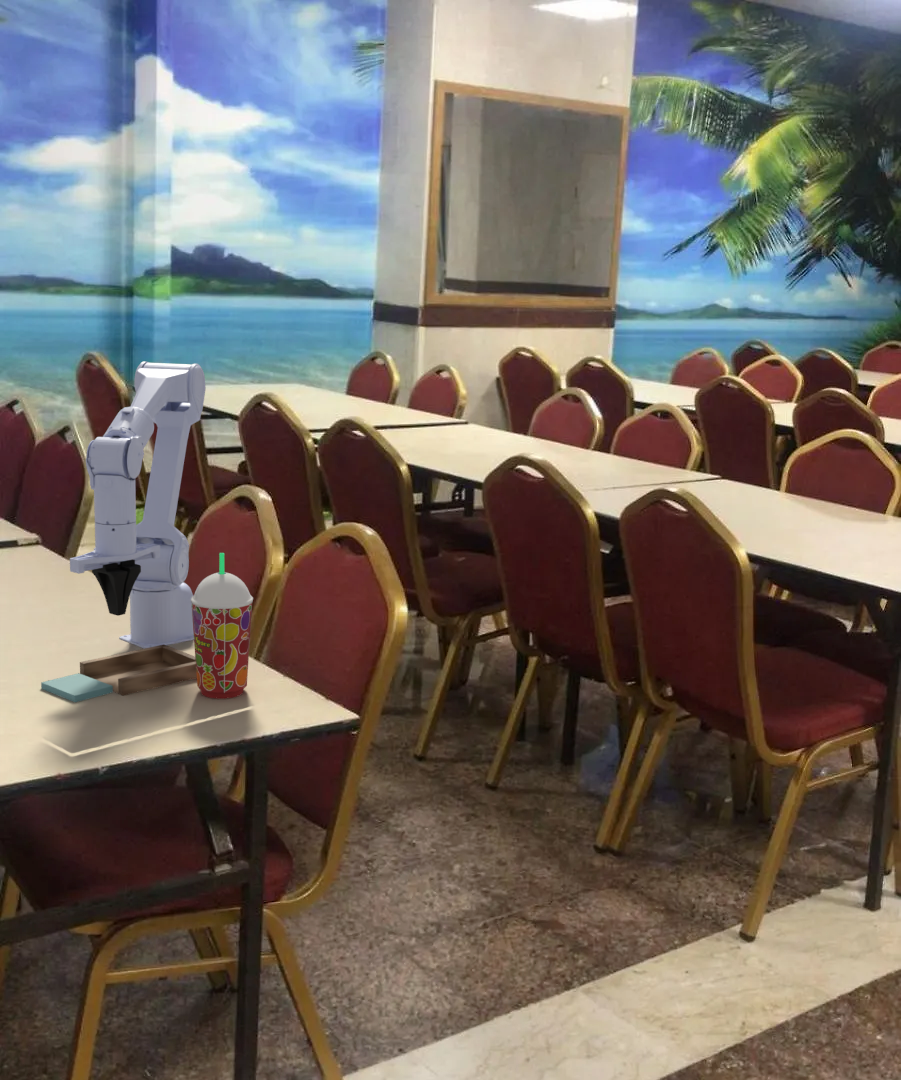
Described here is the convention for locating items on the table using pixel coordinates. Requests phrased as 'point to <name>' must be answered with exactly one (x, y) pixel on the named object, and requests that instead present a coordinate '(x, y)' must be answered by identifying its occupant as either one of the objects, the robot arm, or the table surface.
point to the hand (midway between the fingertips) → (117, 613)
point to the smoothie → (221, 634)
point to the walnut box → (141, 669)
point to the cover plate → (77, 687)
